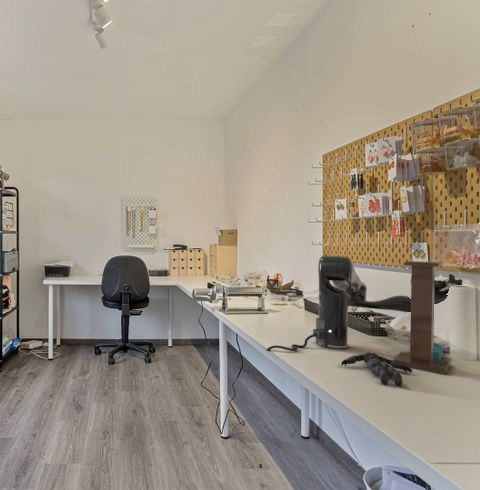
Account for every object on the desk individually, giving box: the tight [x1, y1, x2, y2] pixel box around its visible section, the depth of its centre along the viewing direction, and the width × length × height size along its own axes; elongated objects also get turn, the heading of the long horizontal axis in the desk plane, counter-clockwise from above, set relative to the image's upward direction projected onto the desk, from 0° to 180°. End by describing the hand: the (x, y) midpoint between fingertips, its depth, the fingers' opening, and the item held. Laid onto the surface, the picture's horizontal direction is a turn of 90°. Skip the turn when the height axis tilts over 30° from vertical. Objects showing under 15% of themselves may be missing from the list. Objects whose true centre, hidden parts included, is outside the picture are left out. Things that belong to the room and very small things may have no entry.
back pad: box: [433, 342, 444, 359], centre depth 125 cm, size 19×7×3 cm, turn 131°
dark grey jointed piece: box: [340, 351, 413, 387], centre depth 106 cm, size 18×4×20 cm
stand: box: [393, 260, 451, 375], centre depth 113 cm, size 12×12×32 cm
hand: (434, 275), depth 131 cm, fingers open, 8 cm apart
